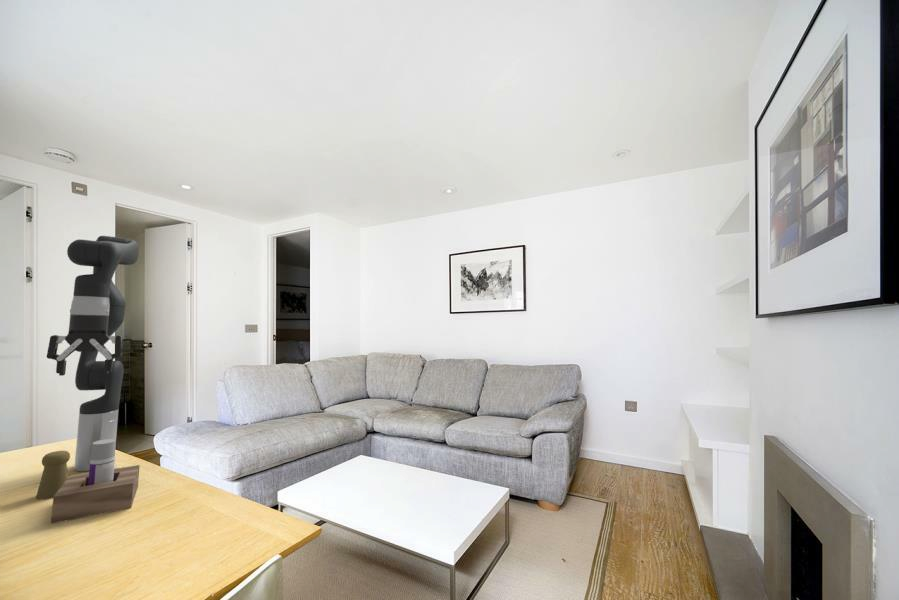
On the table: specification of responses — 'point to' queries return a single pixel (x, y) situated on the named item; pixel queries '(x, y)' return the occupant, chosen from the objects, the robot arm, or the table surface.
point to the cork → (53, 474)
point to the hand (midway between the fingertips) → (84, 374)
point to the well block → (95, 495)
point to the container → (102, 462)
